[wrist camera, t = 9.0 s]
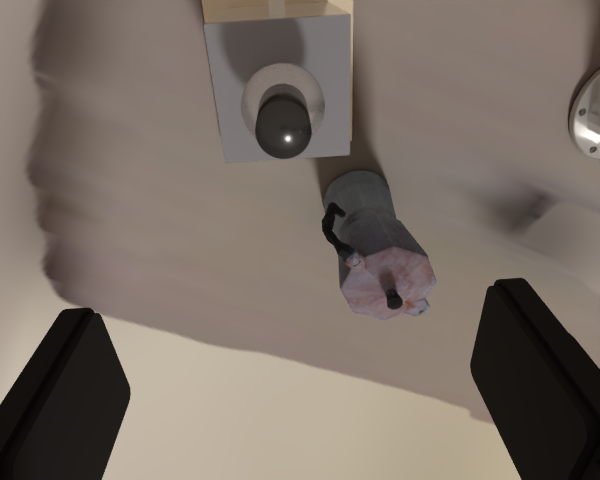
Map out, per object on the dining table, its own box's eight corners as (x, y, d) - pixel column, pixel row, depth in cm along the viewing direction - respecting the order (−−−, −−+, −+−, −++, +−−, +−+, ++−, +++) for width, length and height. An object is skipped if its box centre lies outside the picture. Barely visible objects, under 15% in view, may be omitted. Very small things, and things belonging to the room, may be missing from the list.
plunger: (317, 17, 42) (351, 55, 22) (320, 96, 46) (349, 188, 26) (240, 22, 42) (204, 65, 22) (249, 100, 46) (226, 196, 26)
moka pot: (370, 253, 60) (405, 361, 44) (284, 193, 55) (286, 290, 38) (419, 205, 57) (479, 304, 40) (333, 136, 51) (359, 216, 34)
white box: (351, -55, 41) (391, -70, 26) (350, 136, 51) (378, 202, 36) (197, -44, 41) (150, -55, 26) (226, 145, 51) (204, 214, 36)
